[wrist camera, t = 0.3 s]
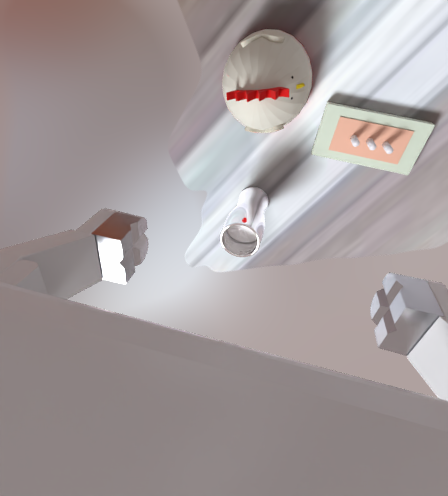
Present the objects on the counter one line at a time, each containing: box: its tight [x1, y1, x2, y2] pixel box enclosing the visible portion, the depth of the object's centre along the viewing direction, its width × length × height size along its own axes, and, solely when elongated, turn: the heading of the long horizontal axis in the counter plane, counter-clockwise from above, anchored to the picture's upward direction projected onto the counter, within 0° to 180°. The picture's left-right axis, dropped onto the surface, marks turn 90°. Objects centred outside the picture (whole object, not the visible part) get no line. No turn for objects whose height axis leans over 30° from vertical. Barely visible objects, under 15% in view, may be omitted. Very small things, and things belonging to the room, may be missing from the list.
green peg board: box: [311, 102, 435, 175], centre depth 47 cm, size 8×16×5 cm, turn 82°
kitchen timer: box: [222, 29, 312, 133], centre depth 42 cm, size 14×14×15 cm
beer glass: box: [220, 187, 269, 257], centre depth 55 cm, size 7×7×15 cm
